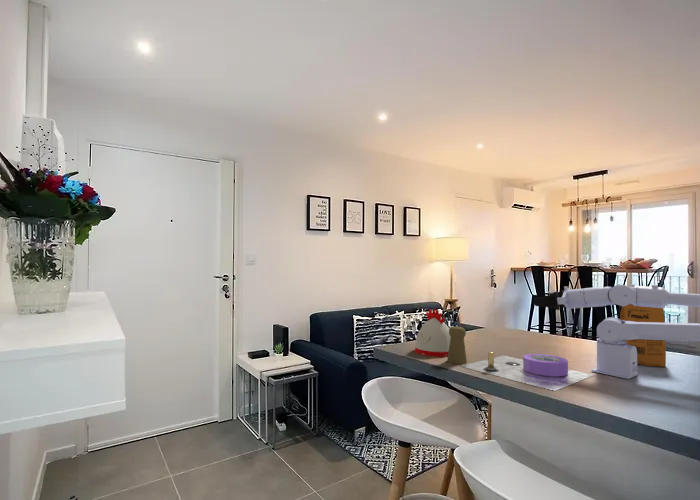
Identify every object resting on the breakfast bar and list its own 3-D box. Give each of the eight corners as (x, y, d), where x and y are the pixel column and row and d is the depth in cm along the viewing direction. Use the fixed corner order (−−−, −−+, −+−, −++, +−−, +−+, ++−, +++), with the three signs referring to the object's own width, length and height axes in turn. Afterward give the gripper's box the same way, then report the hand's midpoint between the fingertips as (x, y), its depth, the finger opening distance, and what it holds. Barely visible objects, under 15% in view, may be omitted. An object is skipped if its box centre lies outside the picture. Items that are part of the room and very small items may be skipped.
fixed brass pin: (498, 370, 115) (498, 352, 115) (492, 371, 113) (492, 354, 113) (489, 367, 117) (489, 351, 117) (484, 369, 115) (484, 352, 115)
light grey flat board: (594, 375, 111) (594, 374, 111) (554, 391, 97) (554, 390, 97) (503, 355, 134) (503, 355, 134) (459, 366, 119) (459, 365, 119)
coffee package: (615, 357, 134) (615, 292, 135) (661, 362, 128) (660, 294, 129) (619, 363, 125) (619, 294, 126) (668, 369, 120) (668, 296, 120)
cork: (451, 358, 129) (451, 324, 129) (469, 361, 125) (469, 326, 125) (444, 362, 124) (444, 327, 124) (463, 365, 120) (463, 329, 120)
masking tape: (514, 366, 119) (514, 354, 119) (548, 365, 121) (548, 352, 122) (541, 378, 107) (541, 364, 108) (577, 376, 110) (577, 362, 110)
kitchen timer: (434, 346, 147) (434, 306, 148) (464, 353, 136) (464, 310, 136) (407, 350, 139) (407, 308, 140) (435, 358, 128) (436, 312, 129)
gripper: (586, 283, 125) (541, 288, 133) (578, 285, 114) (529, 290, 122) (590, 306, 124) (544, 309, 133) (583, 309, 113) (533, 313, 121)
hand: (537, 301), depth 127 cm, fingers open, 7 cm apart
